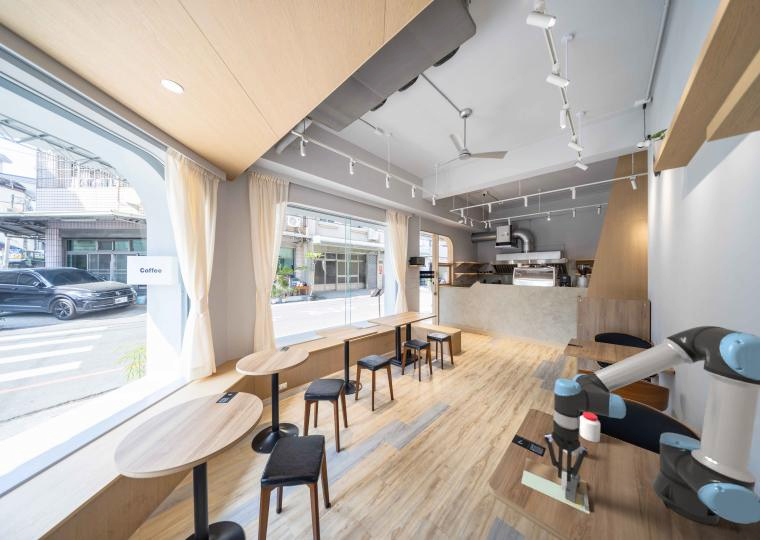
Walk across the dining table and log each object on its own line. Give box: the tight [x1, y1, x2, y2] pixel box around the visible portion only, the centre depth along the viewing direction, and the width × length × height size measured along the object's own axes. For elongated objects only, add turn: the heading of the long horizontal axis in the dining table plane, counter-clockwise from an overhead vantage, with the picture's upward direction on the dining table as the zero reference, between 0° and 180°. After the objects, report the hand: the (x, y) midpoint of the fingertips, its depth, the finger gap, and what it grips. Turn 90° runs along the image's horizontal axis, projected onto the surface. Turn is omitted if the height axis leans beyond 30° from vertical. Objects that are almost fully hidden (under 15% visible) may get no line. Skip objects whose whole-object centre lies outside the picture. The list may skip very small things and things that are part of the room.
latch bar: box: [565, 473, 581, 503], centre depth 93 cm, size 12×4×4 cm, turn 138°
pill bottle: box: [579, 411, 601, 443], centre depth 124 cm, size 8×8×11 cm
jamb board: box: [523, 457, 589, 497], centre depth 99 cm, size 20×8×1 cm, turn 54°
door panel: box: [521, 469, 591, 515], centre depth 93 cm, size 20×8×3 cm, turn 54°
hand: (563, 487), depth 92 cm, fingers closed
